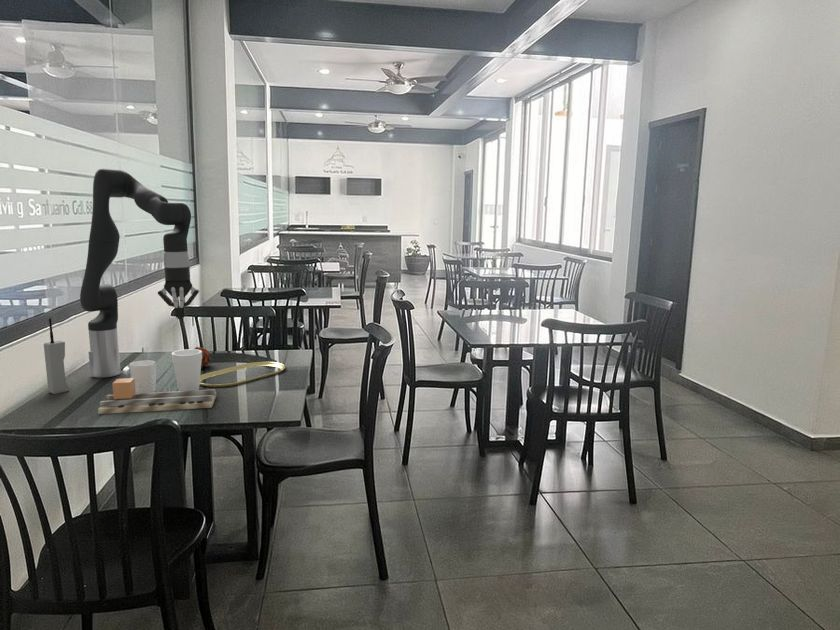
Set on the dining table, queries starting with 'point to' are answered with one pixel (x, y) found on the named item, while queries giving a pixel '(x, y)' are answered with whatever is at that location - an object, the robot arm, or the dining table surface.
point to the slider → (124, 389)
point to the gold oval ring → (238, 369)
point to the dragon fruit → (204, 356)
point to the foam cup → (187, 368)
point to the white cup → (144, 375)
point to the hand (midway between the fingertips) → (180, 318)
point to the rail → (160, 401)
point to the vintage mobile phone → (55, 364)
